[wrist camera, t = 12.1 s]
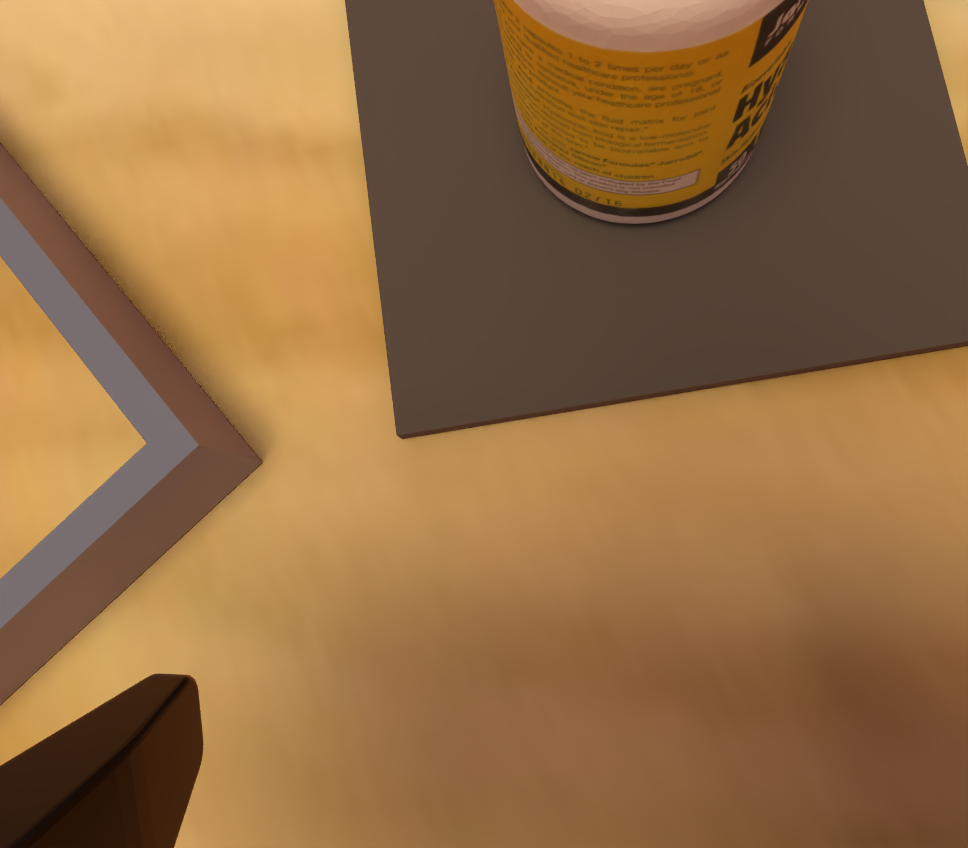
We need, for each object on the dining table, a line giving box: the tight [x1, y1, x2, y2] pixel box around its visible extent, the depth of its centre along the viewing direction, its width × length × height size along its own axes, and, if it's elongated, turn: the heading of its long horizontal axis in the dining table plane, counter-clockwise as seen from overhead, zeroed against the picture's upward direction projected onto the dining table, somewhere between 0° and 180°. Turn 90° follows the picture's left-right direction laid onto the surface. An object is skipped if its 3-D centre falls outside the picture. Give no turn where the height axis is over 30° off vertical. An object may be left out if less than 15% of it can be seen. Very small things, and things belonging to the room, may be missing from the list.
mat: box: [345, 0, 968, 439], centre depth 19 cm, size 13×13×1 cm
